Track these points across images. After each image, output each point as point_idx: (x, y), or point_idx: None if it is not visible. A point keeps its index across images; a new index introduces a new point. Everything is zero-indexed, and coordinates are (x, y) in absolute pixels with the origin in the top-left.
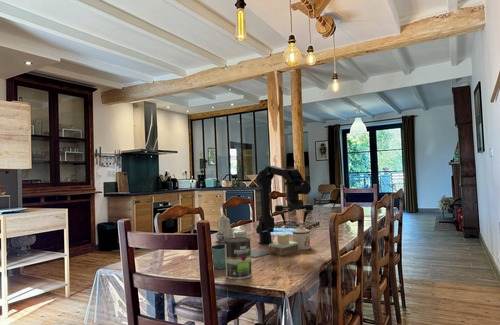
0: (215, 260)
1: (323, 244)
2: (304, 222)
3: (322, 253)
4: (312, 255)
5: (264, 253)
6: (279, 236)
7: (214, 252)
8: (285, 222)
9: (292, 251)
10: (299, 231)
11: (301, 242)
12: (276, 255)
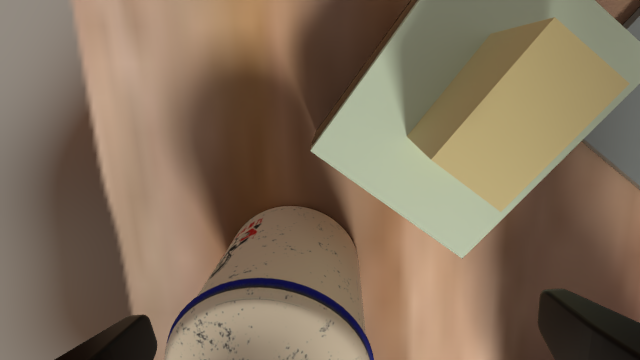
0: None
1: None
2: (85, 346)
3: (120, 88)
4: (190, 15)
5: None
6: (587, 54)
7: None
8: (600, 328)
9: (365, 65)
10: (276, 312)
11: (281, 231)
12: None
